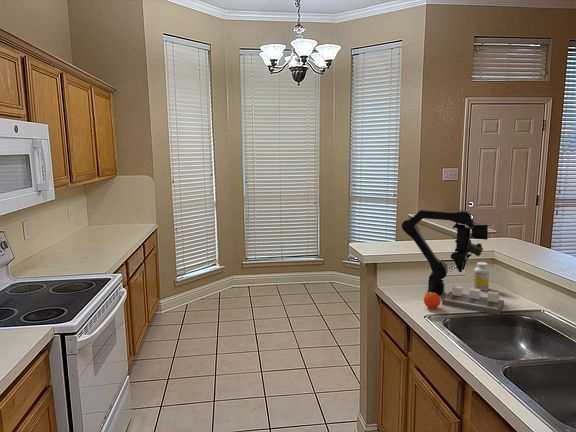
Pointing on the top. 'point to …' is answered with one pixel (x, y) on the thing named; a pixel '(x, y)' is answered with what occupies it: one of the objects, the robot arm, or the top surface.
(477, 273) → the supplement bottle
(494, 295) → the tab right
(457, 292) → the tab left
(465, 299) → the switch bank
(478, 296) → the tab middle
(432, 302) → the red tomato
